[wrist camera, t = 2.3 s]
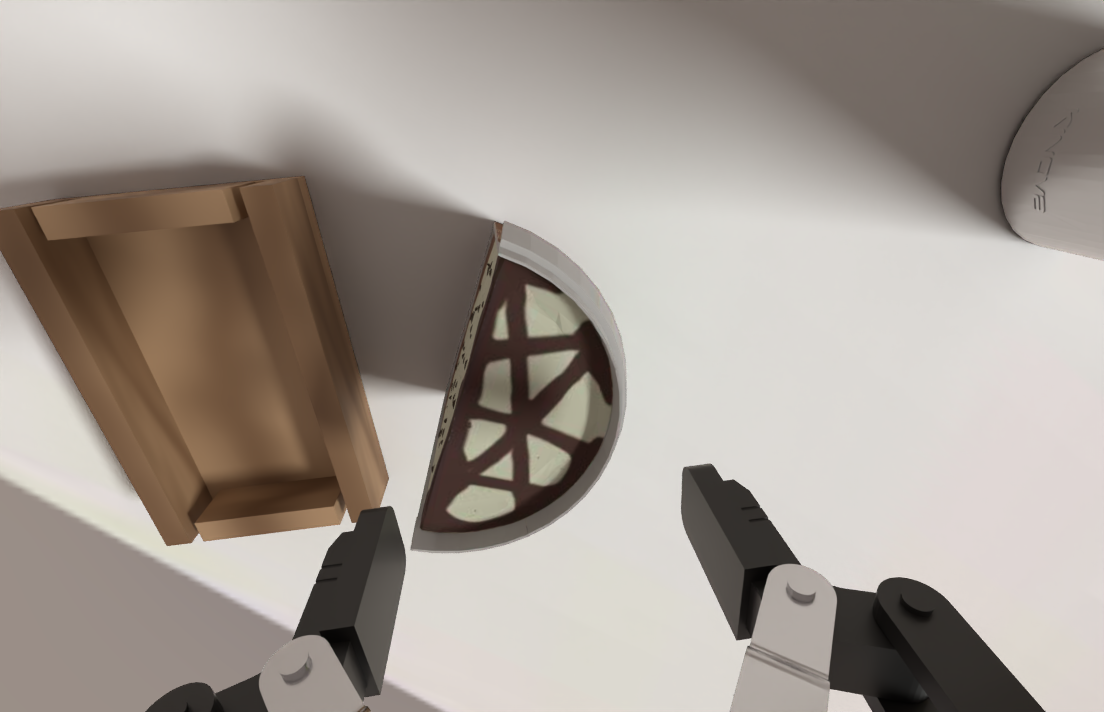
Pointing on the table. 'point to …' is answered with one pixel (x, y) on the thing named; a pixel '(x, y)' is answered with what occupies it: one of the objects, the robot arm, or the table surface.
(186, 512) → the holder
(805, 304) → the table surface
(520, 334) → the food container
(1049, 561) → the table surface
